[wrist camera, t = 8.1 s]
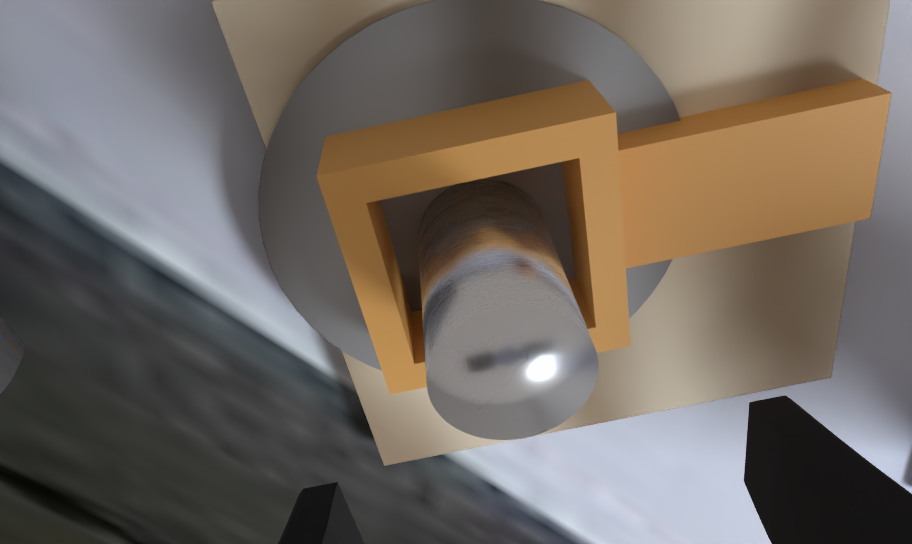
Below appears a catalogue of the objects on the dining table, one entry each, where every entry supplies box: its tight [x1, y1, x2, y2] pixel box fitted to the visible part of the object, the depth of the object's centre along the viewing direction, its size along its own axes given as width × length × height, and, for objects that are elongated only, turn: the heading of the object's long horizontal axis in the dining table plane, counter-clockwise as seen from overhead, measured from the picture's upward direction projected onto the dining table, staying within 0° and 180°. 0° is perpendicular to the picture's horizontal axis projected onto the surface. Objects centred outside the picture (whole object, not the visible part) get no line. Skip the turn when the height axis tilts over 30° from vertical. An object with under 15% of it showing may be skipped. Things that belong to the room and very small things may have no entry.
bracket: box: [316, 79, 891, 394], centre depth 18 cm, size 14×7×3 cm, turn 101°
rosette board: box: [212, 0, 890, 466], centre depth 20 cm, size 17×16×1 cm
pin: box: [418, 178, 599, 440], centre depth 16 cm, size 4×4×6 cm
